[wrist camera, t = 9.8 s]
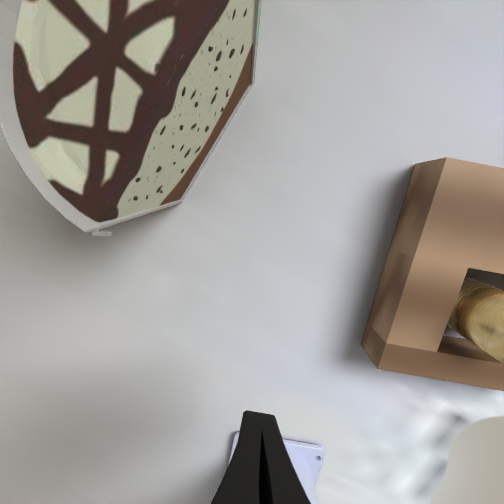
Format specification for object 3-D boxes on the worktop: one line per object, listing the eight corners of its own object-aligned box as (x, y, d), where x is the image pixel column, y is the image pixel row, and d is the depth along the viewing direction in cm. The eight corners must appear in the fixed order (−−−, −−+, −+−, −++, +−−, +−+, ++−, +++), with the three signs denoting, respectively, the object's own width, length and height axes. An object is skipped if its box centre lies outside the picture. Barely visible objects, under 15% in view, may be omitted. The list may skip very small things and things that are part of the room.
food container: (185, -2, 16) (72, -316, 6) (267, 60, 17) (281, -135, 7) (96, 170, 18) (-90, 141, 8) (171, 219, 19) (78, 245, 9)
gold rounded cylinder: (475, 329, 20) (544, 371, 15) (425, 321, 20) (479, 360, 15) (493, 281, 19) (573, 309, 14) (441, 272, 19) (504, 298, 14)
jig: (516, 372, 21) (559, 400, 18) (360, 344, 21) (377, 368, 18) (596, 198, 18) (663, 199, 15) (415, 163, 18) (446, 157, 15)
